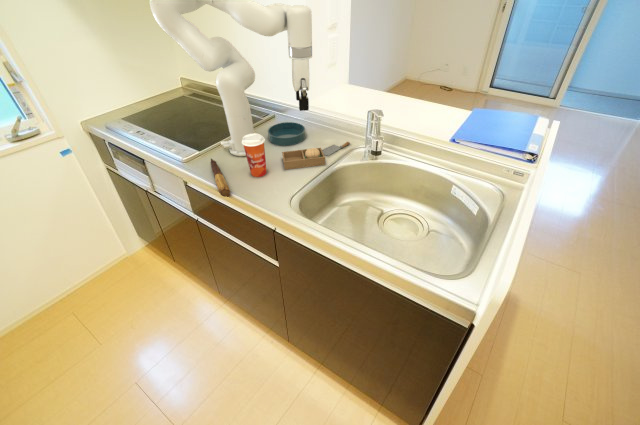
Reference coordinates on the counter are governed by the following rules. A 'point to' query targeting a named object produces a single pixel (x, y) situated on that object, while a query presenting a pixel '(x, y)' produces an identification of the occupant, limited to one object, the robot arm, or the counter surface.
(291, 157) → the divided brown tray
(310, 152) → the egg
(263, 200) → the counter surface
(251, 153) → the paper cup
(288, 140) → the bowl
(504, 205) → the counter surface
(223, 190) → the hand tool
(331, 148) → the cleaver
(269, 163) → the counter surface
